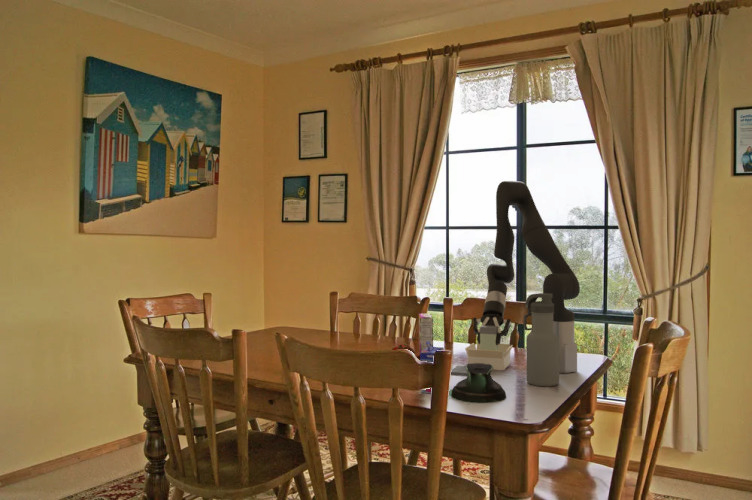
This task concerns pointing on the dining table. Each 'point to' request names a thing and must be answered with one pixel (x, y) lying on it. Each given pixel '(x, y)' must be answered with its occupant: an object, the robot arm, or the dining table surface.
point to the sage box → (488, 337)
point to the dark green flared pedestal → (478, 386)
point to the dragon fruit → (403, 347)
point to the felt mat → (459, 370)
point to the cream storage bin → (490, 356)
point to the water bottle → (541, 342)
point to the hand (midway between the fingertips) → (488, 343)
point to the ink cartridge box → (428, 357)
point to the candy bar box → (425, 330)
